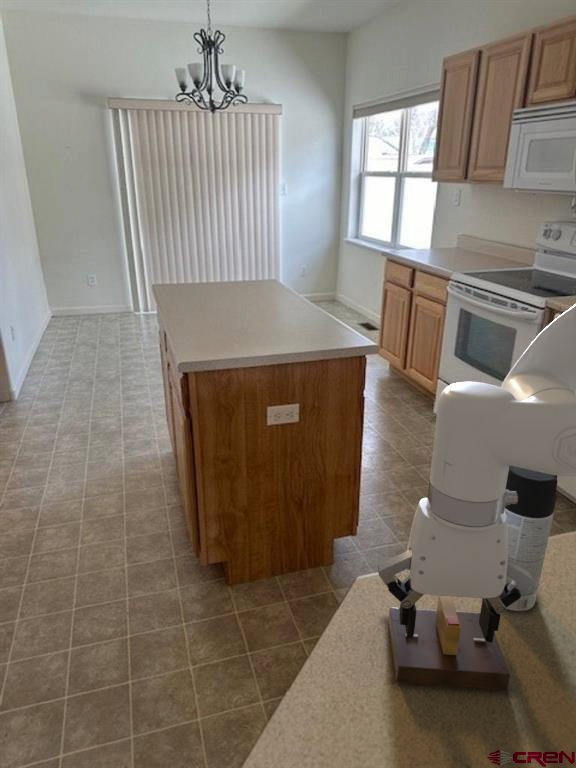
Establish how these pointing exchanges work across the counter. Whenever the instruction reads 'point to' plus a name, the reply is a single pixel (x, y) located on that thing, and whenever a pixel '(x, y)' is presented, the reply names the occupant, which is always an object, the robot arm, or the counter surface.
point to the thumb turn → (447, 625)
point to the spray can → (529, 525)
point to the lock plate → (430, 666)
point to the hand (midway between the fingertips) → (446, 630)
